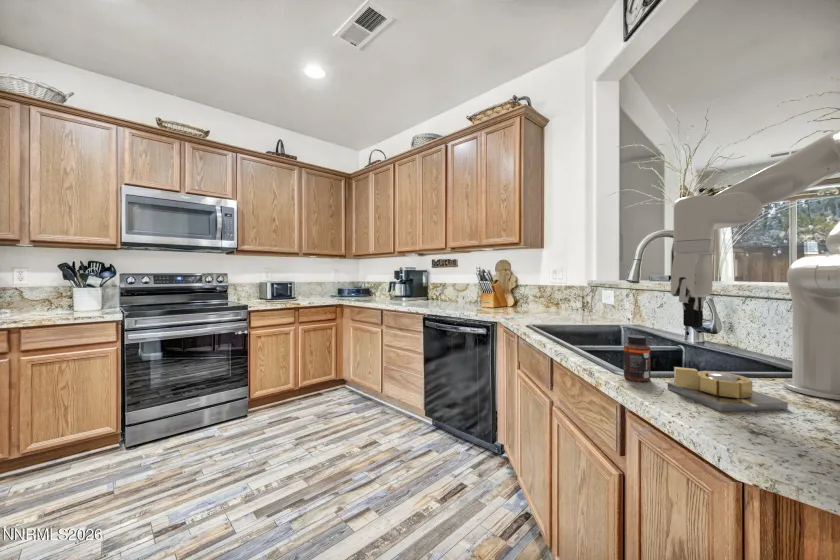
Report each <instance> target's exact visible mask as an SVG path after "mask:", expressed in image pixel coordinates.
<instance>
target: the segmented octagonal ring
mask: <svg viewBox="0 0 840 560" xmlns="http://www.w3.org/2000/svg"><path fill="white" fill-rule="evenodd" d="M709 372H716V371H715V370H713V371H711V370H702V371H698V370H697V369H696V368H690V367H680V366H673V375H674V376H673V383H674V384H675V386H677V387H686V388H695V389H698V390H701V391H704V392H708V393H711V394H714V395H719V396H727V397H735V398H739V397H740V398H745V397H750V396H752V391H753V380H751V379H750V378H748V377H746V376H743V375H739V374H734V373H730V372H727V373H728V374H732V375H735V376H737V381H727V380H718V379H714V378H710V377H708V373H709ZM721 372H722V373H726V372H725V371H721Z"/></svg>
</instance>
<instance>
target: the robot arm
mask: <svg viewBox="0 0 840 560" xmlns="http://www.w3.org/2000/svg"><path fill="white" fill-rule="evenodd" d="M839 172H840V129H838V130H836V131H834V132H830V133H828V134H825V136H822V137H820V138H818V139H817V140H814V141H813V142H811V143H810V144H807V145H806V146H804V147H802V148H800V149H799V150H796V151H795V152H794V153H792V154H790V155H788V156H786V157H785V158H782V159H781V160H779V161H777V162H775V163H773V164H771V165H769V166H767V167H765V168H764V169H762V170H760V171H758V172H756V173H754V174H752V175H751V176H748V177H747V178H745V179H742V180H741V181H739V182H737V183H735V184H732V185H731V186H728V187H727V188H725V189H723V190H722V191H719V192H718V193H715V194H714V195H706V194H705V195H704V194H703V195H702V194H701V195H700V194H698V195H690V196H685V197H681V198H678V199H677V200H676V201H675V202H674V203H673V260H672V264H671V265H672V266H671V267H672V268H671V278H670V294H671V296H672V297H678V302H679V303H682V310H683V312H682V313H683V319H682V320H683V326H684V327H688V328H689V327H690V328H691V327H692V328H701V327H703V321H704V320H703V313H704V312H703V310H704V303H705V301H706V300H707V297H708V296H710V295H711V294H712V292H713V269H712V259H711V256H713V255H715V253H714V252H715V251H714V249H715V245H714V244H715V241H714V240H715V230H719V229H726V228H733V227H738V226H743V225H746V224H748V223H750V222H753V221H754V220H756V219H757V217H759V215H760V214H761V212H762V210H763V206H766V205H769V204H773V203H776V202H779V201H783V200H786V199H789V198H791V197H793V196H796V195H799V194H802V193H803V192H805V191H807V190H808V189H809V190H810V189H811V188H812V187H814V186H816V185H818V184H819V183H821V182H823V181H825V180H827V179H829V178H831V177H832V176H835V175H836V174H837V173H839ZM825 247H826V249H827V251H829V252H830V253H816V254H811V255H810V254H809V255H806V256H802V257H800V258H799V259H796V260H795V261H793V262H792V263H791V264H790V266H789V268H787V272H786V281H787V282H786V283H787V286H788V290H789V293H790V297H791V304H792V305H791V306H792V378H789V379H788V378H787V379H784V380H783V381H782V385H783V387H784V388H786V389H787V390H791V391H793V392H796V393H800V394H803V395H807V396H810V397H811V396H812V397H816V398H817V397H818V398H822V399H828V400H836V401H837V400H838V401H840V220H839V221H838V222H837V223H836V225H835V226H834V227H833V228H832V229H831V230H830V232H829V233H828V235H827V237H826V239H825Z"/></svg>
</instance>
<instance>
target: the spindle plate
mask: <svg viewBox="0 0 840 560" xmlns="http://www.w3.org/2000/svg"><path fill="white" fill-rule="evenodd" d="M722 372H723V371H715V372H709V373H708V377H710V378H714V379H718V380H727V381H737V376H735V375H736V374H735V375H732V374H733V373H731V374H728V373H729V372H725V373H722ZM667 390H670V391H671V392H674V393H676V394H679V395H681V396H683V397H685V398H687V399H690V400H693V401H695V402H697V403H699V404H702V405H705V406H706V407H709V408H711V409H714V410H716V411H718V412H720V413H726V412H730V413H732V412H756V411H757V412H759V411H760V412H761V411H762V412H763V411H788V410H789V405H788V401H784V400H781V399H779V398H776V397H774V396H773V397H772V396H770V395H766V394H763V393H760V392H757V391H755V390H752V396H750V397H745V398H740V397H739V398H735V397H727V396H719V395H714V394H711V393H708V392H704V391H701V390H698V389H695V388H686V387H677V386H675V384H674V382H667Z"/></svg>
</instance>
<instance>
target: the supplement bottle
mask: <svg viewBox="0 0 840 560" xmlns="http://www.w3.org/2000/svg"><path fill="white" fill-rule="evenodd" d="M627 341H628V342H626V343H625V344H624V345H623V377H624V378H625V379H627V380H629V381H632V382H641V383H642V382H643V383H646V382H649V381H650V380H651V347H650V345H649V344H647V338H646V336H643V335H633V334H632V335H631V334H630V335H629V334H628V335H627Z"/></svg>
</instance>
